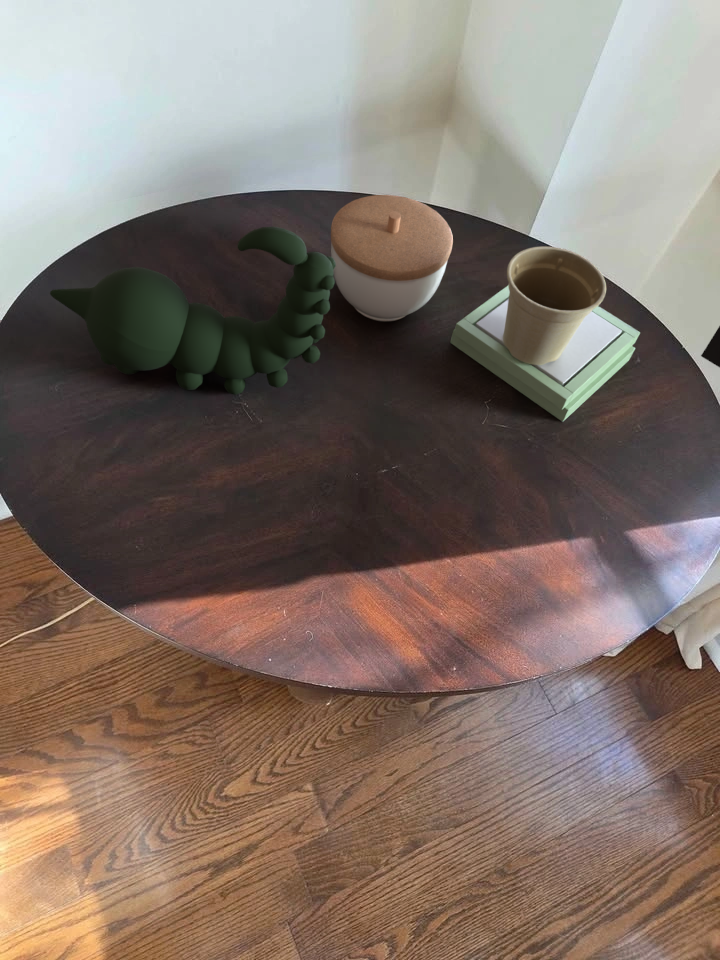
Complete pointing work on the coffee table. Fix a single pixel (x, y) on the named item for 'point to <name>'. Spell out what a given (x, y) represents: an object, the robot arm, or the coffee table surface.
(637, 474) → the coffee table surface
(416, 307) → the lidded bowl
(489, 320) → the pan
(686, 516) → the coffee table surface
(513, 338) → the flower pot
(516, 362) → the scale
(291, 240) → the toy figurine
